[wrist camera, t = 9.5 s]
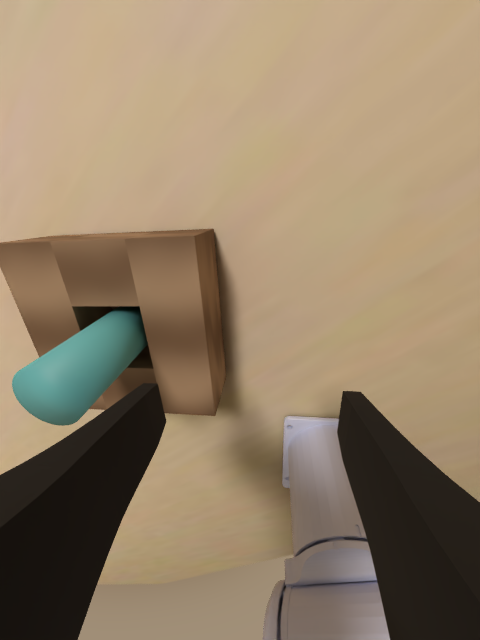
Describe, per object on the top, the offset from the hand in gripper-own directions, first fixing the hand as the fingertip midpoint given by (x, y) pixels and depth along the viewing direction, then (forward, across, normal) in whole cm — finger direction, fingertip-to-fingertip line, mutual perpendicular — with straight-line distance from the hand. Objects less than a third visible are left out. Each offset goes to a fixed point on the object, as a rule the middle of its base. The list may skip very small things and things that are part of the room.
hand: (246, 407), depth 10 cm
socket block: (+10, +9, 0) cm, 13 cm away
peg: (+9, +9, 0) cm, 12 cm away
